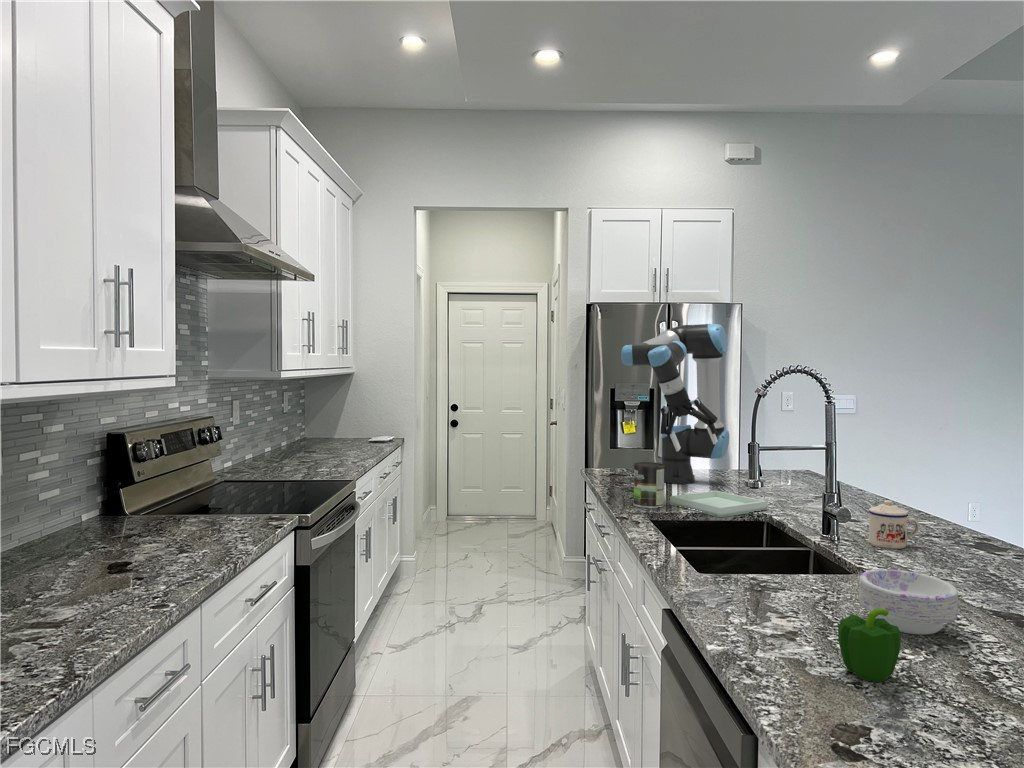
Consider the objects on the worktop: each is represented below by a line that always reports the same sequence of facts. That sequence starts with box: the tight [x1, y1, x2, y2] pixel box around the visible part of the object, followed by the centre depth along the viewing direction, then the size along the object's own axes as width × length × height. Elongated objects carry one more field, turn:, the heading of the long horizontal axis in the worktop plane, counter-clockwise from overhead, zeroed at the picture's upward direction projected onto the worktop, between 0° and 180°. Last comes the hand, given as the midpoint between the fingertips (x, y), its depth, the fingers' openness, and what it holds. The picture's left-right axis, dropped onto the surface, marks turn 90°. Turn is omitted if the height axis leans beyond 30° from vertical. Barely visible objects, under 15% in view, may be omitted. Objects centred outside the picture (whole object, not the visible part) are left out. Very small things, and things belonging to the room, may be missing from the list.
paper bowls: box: [858, 569, 959, 636], centre depth 117 cm, size 15×15×8 cm
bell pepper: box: [837, 608, 902, 683], centre depth 97 cm, size 8×8×10 cm
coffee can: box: [632, 461, 665, 509], centre depth 221 cm, size 10×10×14 cm
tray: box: [669, 490, 769, 518], centre depth 218 cm, size 22×22×3 cm
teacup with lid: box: [868, 499, 920, 550], centre depth 171 cm, size 12×9×12 cm
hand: (696, 446), depth 223 cm, fingers open, 13 cm apart
